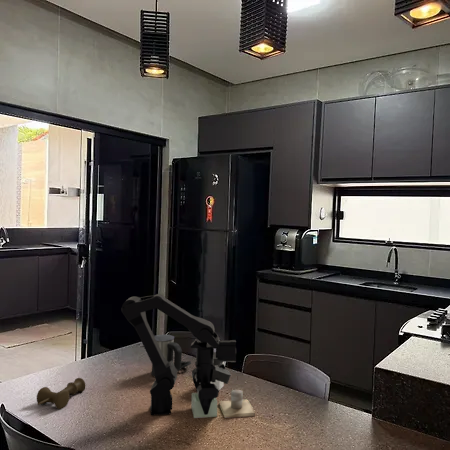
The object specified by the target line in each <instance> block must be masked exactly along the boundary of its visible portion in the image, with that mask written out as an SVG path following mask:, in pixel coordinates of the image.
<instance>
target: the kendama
mask: <svg viewBox="0 0 450 450" xmlns="http://www.w3.org/2000/svg"><path fill="white" fill-rule="evenodd" d="M85 389H86V382H85V379H83V378H82V377H76V378H75V379H74V380H73V382H68V383H67V384H66V387H64V388H63V389H61V390H59V391H58V392H54V391H52V390H51V389H50V388H49V387H48V386H44V387H43V386H42V387H41V388H40V389H39V390H38V391H37V394H36V402H37V406H41V405H45V404H47V403H48V404H49V403H51V404H54V405H55V407H56V409H58V410H63V409H64V408H65V407H67V406H68V404H69V401H70V395H74V396H75V395H76V394H77V393H81V392H82V393H83V392H84V391H85Z"/></svg>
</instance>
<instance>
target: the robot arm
mask: <svg viewBox="0 0 450 450" xmlns="http://www.w3.org/2000/svg"><path fill="white" fill-rule="evenodd" d="M154 309H157V310H159V311H160V312H162V313H163V314H164V315H167V316H168V317H170V318H171V319H173V320H174V321H176V322H177V323H179V324H180V325H182V326H183V327H184V328H186V329H188V331H189V332H190V333H191V334H192V335H193V336H194V337H195V340H194V341H193V342H191V344H190V349H196V353H195V354H196V356H195V358H196V359H195V362H194V365H195V368H193V369H192V371H191V378H192V381H193V384H194V388H195V390H196V393H198V394H197V395H198V398H199V401H200V404H201V406H202V409H203V412H204V414H205V415H207V414H208V412H209V408H210V405H211V402H212V400H213V399H214V398H216V399H218V397H219V392H220V390H218V388H217V386H216V385H215V384H211V383H210V382H216V380H217V381H221V382H224V384H225V385H226V384H227V385H228V384H229V381H230V379H231V376H232V374H231V372H230V371H229V370H228V369H226V366H225V363H228V362H229V363H236V362H237V345H236V344H237V341H236V339H232V340H231V339H230V340H220V339H221V338H220V337H219V335H218V334H217V332H216V331H215V325H214V323H213V322H211V321H209V320H207V319H205V318H202V317H199V316H195V315H193V314H191V313H190V312H188V311H186V309H184V308H181V306H178V305H177V304H176V303H173V302H172V301H171V300H169V299H168V298H167V297H165V296H164V295H163V294H161V293H156V294H155V295H147V296H141V297H140V296H131V297H128V299H126V300H125V301H124V302H123V303H122V304H121V309H120V310H121V313H122V314H123V316H124V317H125V319H126V320H127V322H128V323H130V324H131V326H133V327H134V329H135V331H136V333H137V335H138V337H139V339H140V342H141V344H142V345H143V347H144V349H145V352H146V354H147V356H148V358H149V360H150V362H151V366H152V365H153V368H154V375H155V376H154V378H155V380H154V381H153V384H152V385H151V388H150V390H149V393H150V406H149V407H150V409H149V410H150V411H149V412H150V416H162V415H163V416H164V415H171V414H172V410H173V395H172V393H171V390H173V389H174V387H175V385H176V380H177V378H178V372H179V371H178V370H177V369H176V368H175V366H174V359H173V360H171V361H170V362H168V361H167V360H166V359H165V358H164V356H163V354H162V352H161V349H160V347H159V345H158V343H157V341H156V339H155V337H154V336H155V334H154V332H153V331H152V329H151V327H150V324H149V322H148V319H147V314H146V313H147V312H149V311H151V310H154ZM214 352H216V358H217V360H219V362H224V364H222V363H220V364H219V365H218V366H214ZM177 371H178V372H177Z"/></svg>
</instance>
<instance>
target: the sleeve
mask: <svg viewBox="0 0 450 450" xmlns="http://www.w3.org/2000/svg"><path fill="white" fill-rule="evenodd" d="M197 394H198V393H197V392H192V393H191V406H190V407H191V411H192V415H193V418H194V419H198V418H200V419H201V418H203V419H204V418H213V417H216V418H217V417H218V400H217V399H218V398H214V399H213V400H212V402H211V405H210V408H209V412H208V414H207V415H205V414H204V412H203V409H202V406H201V404H200V401H199V398H198V395H197Z"/></svg>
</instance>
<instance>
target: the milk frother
mask: <svg viewBox="0 0 450 450" xmlns="http://www.w3.org/2000/svg"><path fill="white" fill-rule="evenodd" d="M154 337H155V339H156V341H157V343H158V345H159V347H160V349H161V352H162V354H163V356H164V358H165V359H166V360H167V361H168V362H170V361H171V360H173V363H174V366H175V368H176V369H177V370H178V371H177V373H178V372H180V371H181V370H182V369H183V368H186V367H188V366H190V365H191V364H192V362H191V360H189V361H184V360H182V357H183V356H182V355H183V354H182V353H183V350H182V347H181V346H180V344H179V343H177V342H174V339H175V336H174V335H171V334H158V335H154ZM150 374H151V375H152V376H154V377H155V375H154V368H153V365H152V364H151V373H150Z"/></svg>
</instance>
